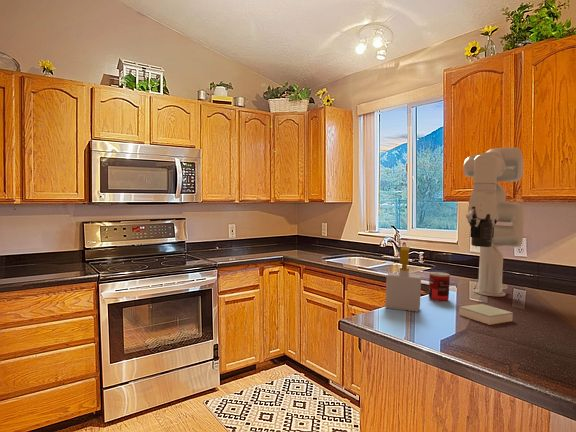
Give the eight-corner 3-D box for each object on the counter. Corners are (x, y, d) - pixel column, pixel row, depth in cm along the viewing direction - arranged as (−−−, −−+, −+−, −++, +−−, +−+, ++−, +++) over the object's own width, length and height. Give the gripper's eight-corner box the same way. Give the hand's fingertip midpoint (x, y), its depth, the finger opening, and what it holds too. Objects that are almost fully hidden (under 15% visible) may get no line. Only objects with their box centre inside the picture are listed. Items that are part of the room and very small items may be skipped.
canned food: (432, 296, 167) (433, 271, 167) (451, 299, 162) (452, 273, 162) (425, 299, 162) (426, 273, 161) (445, 302, 156) (446, 276, 156)
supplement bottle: (466, 245, 142) (468, 213, 142) (481, 245, 145) (482, 213, 145) (481, 247, 136) (483, 213, 136) (496, 247, 138) (498, 214, 138)
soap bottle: (419, 308, 147) (422, 247, 146) (418, 312, 140) (421, 249, 140) (387, 304, 151) (389, 245, 150) (385, 308, 145) (387, 246, 144)
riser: (481, 311, 144) (482, 303, 144) (512, 321, 133) (512, 312, 133) (459, 314, 139) (459, 306, 139) (489, 324, 128) (489, 315, 128)
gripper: (491, 190, 147) (489, 237, 147) (458, 188, 140) (456, 236, 140) (509, 190, 140) (507, 238, 140) (476, 187, 133) (473, 238, 133)
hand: (481, 237), depth 140 cm, fingers closed on supplement bottle, 6 cm apart
